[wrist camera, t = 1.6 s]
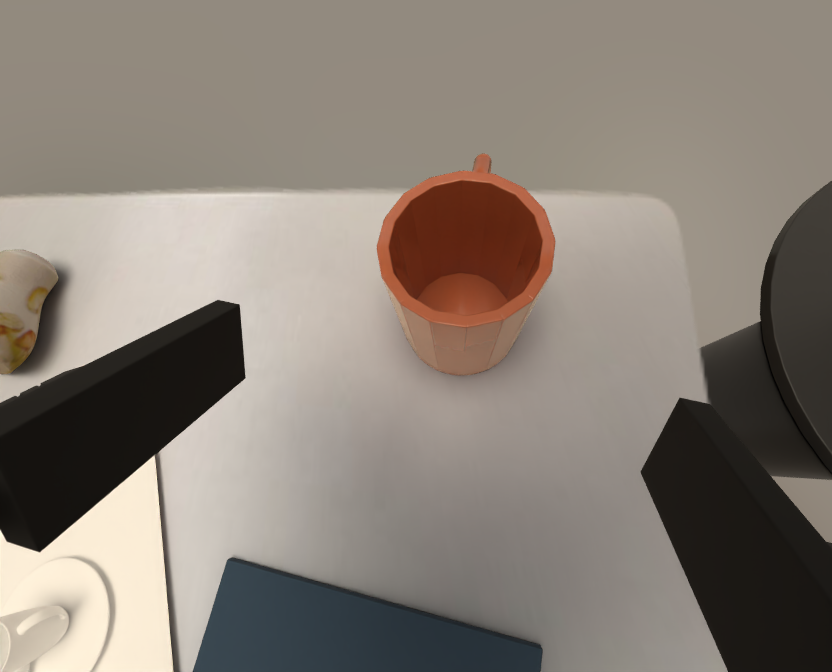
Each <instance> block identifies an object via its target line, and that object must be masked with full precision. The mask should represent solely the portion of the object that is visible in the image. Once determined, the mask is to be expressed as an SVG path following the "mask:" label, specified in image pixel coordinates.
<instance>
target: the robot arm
mask: <svg viewBox="0 0 832 672" xmlns="http://www.w3.org/2000/svg"><path fill="white" fill-rule="evenodd" d="M244 379H245V366H244V354H243V341H242V328H241V316H240V305H239V304H234V303H230V302H225V301H220V300H217V301H215V302H213V303H210V304H208V305H206V306H204V307H202V308H200V309H198V310H196V311H194V312H192V313H190V314H188V315H186V316H184V317H182V318H180V319H178V320H176V321H174V322H172V323H170V324H168V325H166V326H164V327H162V328H160V329H158V330H156V331H154V332H152V333H150V334H148V335H145V336H143V337H141V338H139V339H137V340H135V341H133V342H131V343H129V344H127V345H125V346H123V347H121V348H119V349H117V350H115V351H113V352H111V353H109V354H107V355H105V356H103V357H101V358H99V359H97V360H95V361H93V362H91V363H89V364H87V365H85V366H82V367H79V368H75V369H72V370H69V371H65V372H63V373H61V374H59V375H57V376H55V377H53V378H51V379H49V380H47V381H45V382H43V383H41V385H40V386H34V387H32V388H30V389H28V390H26V391H24V392H22V393H20V396H18V397H17V396H14V397H12V398H10V399H8V400H5V401H3V402H1V403H0V530H1V532H2V534H3V536H4V538H5V540H6V542H9V543H12V544H15V545H18V546H21V547H24V548H27V549H30V550H33V551H36V552H39V553H40V552H41V551H42V550H43V549H45V548H46V547H47V546H48V545H49V544H50V543H52V542H53V541H54V540H55V539H56V538H58V537H59V536H60V535H61V534H62V533H63V532H65V531H66V530H67V529H68V528H69V527H70V526H72V525H73V524H74V523H75V522H76V521H78V520H79V519H80V518H81V517H82V516H83V515H85V514H86V513H87V512H88V511H89V510H91V509H92V508H93V507H94V506H95V505H96V504H98V503H99V502H100V501H101V500H102V499H103V498H105V497H106V496H107V495H108V494H109V493H111V492H112V491H113V490H114V489H115V488H116V487H118V486H119V485H120V484H121V483H122V482H124V481H125V480H126V479H127V478H128V477H129V476H131V475H132V474H133V473H134V472H135V471H136V470H138V469H139V468H140V467H141V466H142V465H144V464H145V463H146V462H147V461H148V460H149V459H151V458H152V457H153V456H154V455H155V454H157V453H158V452H159V451H160V450H161V449H162V448H164V447H165V446H166V445H167V444H168V443H169V442H171V441H172V440H173V439H174V438H175V437H177V436H178V435H179V434H180V433H181V432H182V431H184V430H185V429H186V428H187V427H188V426H190V425H191V424H192V423H193V422H194V421H195V420H197V419H198V418H199V417H200V416H201V415H202V414H204V413H205V412H206V411H207V410H208V409H210V408H211V407H212V406H213V405H214V404H215V403H217V402H218V401H219V400H220V399H221V398H223V397H224V396H225V395H226V394H227V393H228V392H230V391H231V390H232V389H233V388H234V387H235V386H237V385H238V384H239V383H240V382H241V381H243V380H244ZM641 474H642V477H643V479H644V481H645V483H646V486H647V488H648V490H649V492H650V495H651V497H652V499H653V502H654V504H655V506H656V508H657V511H658V513H659V515H660V518H661V520H662V522H663V524H664V527H665V529H666V531H667V533H668V536H669V538H670V540H671V543H672V545H673V547H674V549H675V552H676V554H677V556H678V559H679V561H680V563H681V565H682V568H683V570H684V572H685V574H686V577H687V579H688V581H689V584H690V586H691V588H692V590H693V593H694V595H695V597H696V599H697V602H698V604H699V606H700V609H701V611H702V613H703V615H704V618H705V620H706V622H707V625H708V627H709V629H710V631H711V634H712V636H713V638H714V640H715V643H716V645H717V647H718V650H719V652H720V654H721V656H722V659H723V661H724V663H725V666H726V668H727V670H728V672H832V543H829V542H826V541H825V540H824V539H823V538H822V537H821V536H820V534H819V533H818V532H817V531H816V529H815V528H814V527H813V526H812V525H811V523H810V522H809V521H808V520H807V519H806V518H805V516H804V515H803V514H802V513H801V512H800V510H799V509H798V508H797V507H796V506H795V505H794V503H793V502H792V501H791V500H790V499H789V497H788V496H787V495H786V494H785V493H784V492H783V490H782V489H781V488H780V487H779V486H778V484H777V483H776V482H775V481H774V480H773V479H772V477H771V476H770V475H769V474H768V473H767V471H766V470H765V469H764V468H763V467H762V465H761V464H760V463H759V462H758V461H757V460H756V458H755V457H754V456H753V455H752V454H751V452H750V451H749V450H748V449H747V448H746V446H745V445H744V444H743V443H742V442H741V441H740V439H739V438H738V437H737V436H736V435H735V433H734V432H733V431H732V430H731V429H730V428H729V426H728V425H727V424H726V423H725V422H724V420H723V419H722V418H721V417H720V416H719V414H718V413H717V412H716V411H715V410H714V409H713V407H712V406H711V405H710V404H707V403H702V402H697V401H693V400H688V399H683V398H679V400H678V402H677V404H676V406H675V408H674V409H673V411H672V413H671V415H670V417H669V419H668V421H667V423H666V425H665V427H664V428H663V430H662V432H661V434H660V436H659V438H658V440H657V442H656V444H655V445H654V447H653V449H652V451H651V453H650V455H649V457H648V459H647V461H646V463H645V464H644V466H643V468H642V470H641Z"/></svg>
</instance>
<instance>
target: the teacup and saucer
mask: <svg viewBox="0 0 832 672" xmlns="http://www.w3.org/2000/svg"><path fill="white" fill-rule="evenodd" d="M64 604H67V606H66V607H64V608H63V607H62V605H64ZM70 607H72V608H71V610H70V611H69V612H70V613H71V612H73V611H74V613H73V614H72V615H71V616H70V615H69V613H68V611H67V610H66V609H68V608H70ZM74 616H75V618H74V619H73V620H72V621H71V622H72V623H73V622H75V623H74V624H73V625H72V626H71V627H70V628H71V629H72V628H74V629H73V630H72V631H71V632H70V633H71V634H72V635H71V636H69V637H68V638H66V639H65V640H64V641H65V643H64V644H62V645H60V646H57V645H58V644H57V643H58V642H59V641H60V640H61V639H62V638H63V637H64V635H65V634H66V633H67V631H68V629H69V626H70V617H71V618H72V617H74ZM110 616H111V608H110V598H109V594H108V590H107V587H106V584H105V582H104V580H103V578H102V577H101V575H100V574H99V572H98V571H97V570H96V569H95V568H94V567H93V566H92V565H90V564H89V563H88V562H86V561H84V560H82V559H79V558H75V557H58V558H54V559H51V560H48V561H46V562H44V563H42V564H40V565H38V566H37V567H35V568H34V569H32V570H31V571H30V572H29V573H27V574H26V575H25V576H24V577H23V578H22V579H21V580H20V581H19V582H18V584H17V585H16V586H15V587H14V588H13V590H12V591H11V593H10V594H9V596H8V597H7V599H6V600H5V602H4V604H3V606H2V608H1V610H0V672H91V671H92V670H93V668H94V667H95V665H96V663H97V662H98V660H99V658H100V656H101V653H102V651H103V649H104V646H105V643H106V640H107V636H108V632H109V626H110Z"/></svg>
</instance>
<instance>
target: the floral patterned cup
mask: <svg viewBox="0 0 832 672" xmlns="http://www.w3.org/2000/svg"><path fill="white" fill-rule="evenodd" d="M57 281H58V275H57V273H56V270H55V268H54V267H53V265H52V264H51V263H49V262H48V261H47V260H45V259H44V258H42V257H40V256H39V255H37V254H34V253H32V252H29V251H25V250H5V251H1V252H0V374H8V373H11V372H12V371H14V370H15V369H16V368H17V367H18V366H20V365H21V364H22V363H23V362H24V361H25V360H26V359H27V357H28V356H29V355H30V353H31V351H32V350H33V348H34V345H35V342H36V339H37V334H38V327H39V320H40V314H41V308H42V305H43V302H44V300H45V298H46V296H47V295H48V293H49V292H50V291H51V289H52V288H53V287H54V285H55V284H56V282H57Z"/></svg>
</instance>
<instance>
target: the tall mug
mask: <svg viewBox="0 0 832 672" xmlns="http://www.w3.org/2000/svg"><path fill="white" fill-rule="evenodd" d="M490 171H491V158H490V157H489V155H487V154H480V155H478V156H477V157H476V158H475V161H474V166H473V171H472V172H471V171H458V172H453V173H449V174H444V175H440V176H435V177H431V178H429V179H427V180H425V181H424V182H422V183H420V184H419V185H417V186H415V187H414V188H412V189H410V190H409V191H407V192H406V193H404V194H403V195H402V196H401V198H400V199H399V200H398V201H397V203H396V204H395V205H394V207H393V208H392V209H391V211H390V212H389V213H388V214H387V216H386V217H385V219H384V221H383V225H382V229H381V233H380V236H379V240H378V244H377V254H378V260H379V265H380V271H381V277H382V279H383V281H384V284H385V286H386V289H387V291H388V294H389V296H390V299H391V301H392V303H393V306H394V308H395V311H396V313H397V316H398V318H399V321H400V323H401V325H402V328H403V330H404V333H405V335H406V338H407V340H408V342H409V343H410V345H411V347H412V348H413V350H414V351H415V353H416V354H417V355H418V357H419V358H420V359H421V360H423V361H424V362H425V363H426V364H427V365H429V366H430V367H432V368H434V369H436V370H438V371H441V372H443V373H447V374H451V375H472V374H477V373H480V372H483V371H485V370H488V369H490V368H491V367H493V366H495V365H496V364H497V363H499V362H500V361H501V360H502V359H503V358H504V357H505V356H506V355H507V353H508V352H509V351H510V349H511V347H512V345H513V344H514V342H515V341H516V339H517V337H518V335H519V334H520V332H521V330H522V328H523V326H524V324H525V322H526V320H527V318H528V316H529V314H530V312H531V311H532V309H533V307H534V305H535V303H536V301H537V299H538V297H539V295H540V293H541V291H542V289H543V288H544V286H545V284H546V282H547V280H548V278H549V276H550V274H551V272H552V266H553V258H554V249H555V237H554V235H553V232H552V229H551V226H550V223H549V220H548V217H547V215H546V212H545V210H544V208H543V207H542V206H541V205H540V204H539V203H538V202H537V201H536V200H535V199H534V198H533V197H532V196H531V195H530V194H529V193H528V192H527V190H526V189H525V188H523V187H521V186H519V185H517V184H515V183H513V182H511V181H508V180H506V179H504V178H502V177H500V176H498V175H496V174H491V173H490Z"/></svg>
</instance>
